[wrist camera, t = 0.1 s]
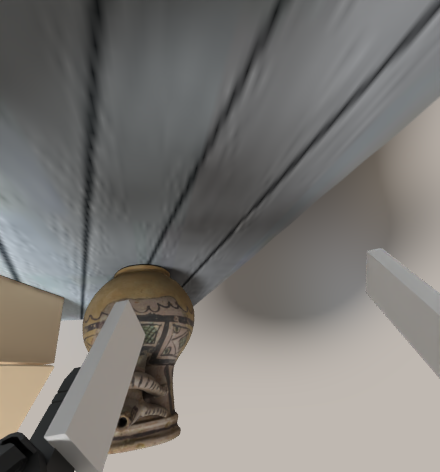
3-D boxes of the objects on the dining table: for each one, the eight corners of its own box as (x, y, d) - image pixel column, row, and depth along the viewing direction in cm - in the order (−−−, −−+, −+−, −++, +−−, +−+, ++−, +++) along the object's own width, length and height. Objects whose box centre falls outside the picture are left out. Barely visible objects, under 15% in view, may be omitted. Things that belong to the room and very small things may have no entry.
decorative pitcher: (189, 288, 58) (201, 420, 46) (107, 297, 55) (97, 441, 43) (190, 242, 40) (211, 444, 27) (67, 252, 36) (29, 484, 24)
